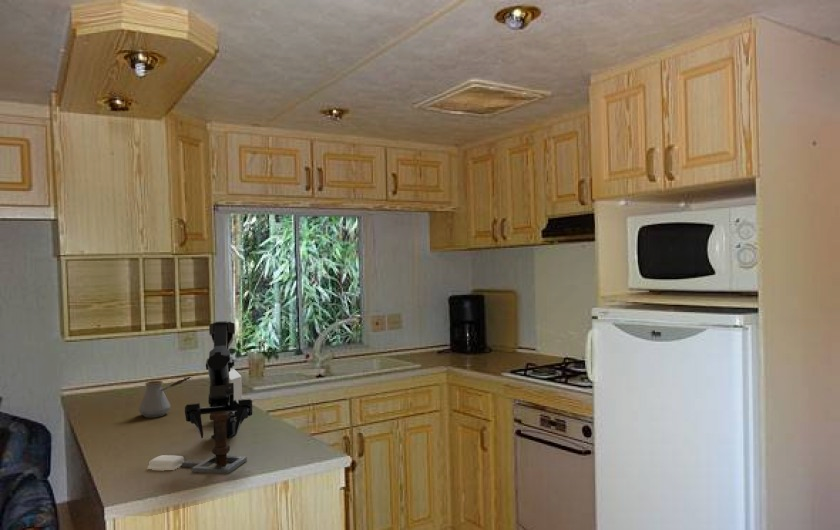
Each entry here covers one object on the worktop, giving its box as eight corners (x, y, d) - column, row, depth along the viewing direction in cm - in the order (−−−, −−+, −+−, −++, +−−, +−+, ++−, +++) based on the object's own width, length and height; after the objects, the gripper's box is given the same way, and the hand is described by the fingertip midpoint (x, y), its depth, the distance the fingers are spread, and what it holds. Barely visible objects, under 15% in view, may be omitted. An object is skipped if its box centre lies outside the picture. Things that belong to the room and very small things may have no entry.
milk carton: (242, 415, 234) (241, 365, 234) (232, 419, 227) (230, 369, 227) (226, 414, 236) (225, 365, 236) (215, 419, 229) (214, 368, 229)
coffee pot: (132, 419, 233) (131, 379, 233) (149, 411, 245) (148, 374, 245) (185, 419, 231) (184, 379, 231) (199, 411, 242) (198, 373, 242)
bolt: (229, 461, 179) (228, 409, 179) (233, 465, 174) (232, 413, 174) (209, 464, 176) (207, 412, 176) (212, 469, 171) (211, 416, 171)
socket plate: (174, 471, 170) (173, 467, 170) (195, 459, 181) (195, 455, 181) (228, 473, 167) (228, 469, 167) (246, 460, 178) (246, 456, 178)
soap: (187, 464, 178) (187, 454, 178) (173, 472, 171) (173, 461, 171) (160, 463, 180) (160, 453, 180) (145, 470, 173) (145, 460, 173)
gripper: (184, 376, 176) (181, 424, 166) (251, 371, 181) (252, 417, 171) (187, 397, 184) (185, 444, 173) (251, 392, 189) (253, 437, 179)
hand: (219, 435), depth 174 cm, fingers open, 9 cm apart
